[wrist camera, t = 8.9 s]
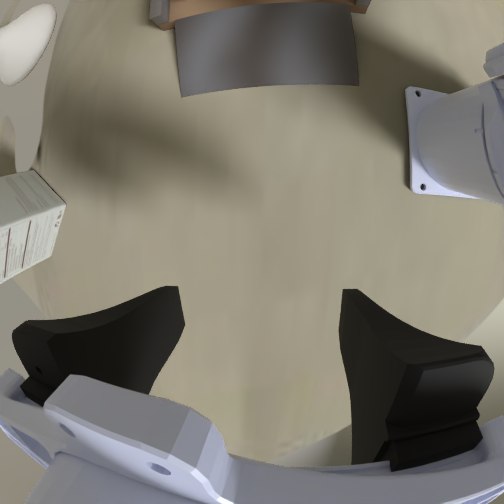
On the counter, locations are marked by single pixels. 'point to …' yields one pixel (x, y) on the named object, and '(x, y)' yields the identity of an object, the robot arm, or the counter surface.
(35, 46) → the flower in vase
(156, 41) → the counter surface
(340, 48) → the grey wooden tray
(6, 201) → the supplement box
